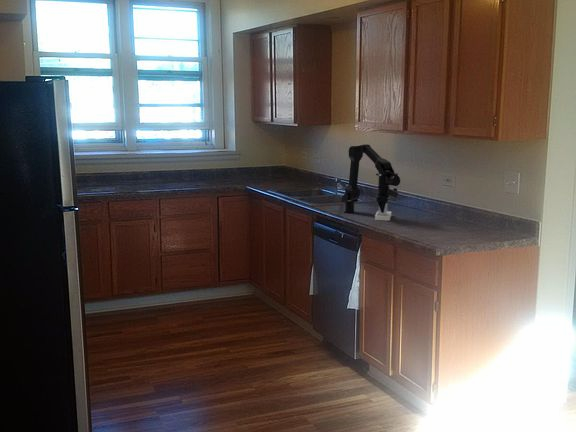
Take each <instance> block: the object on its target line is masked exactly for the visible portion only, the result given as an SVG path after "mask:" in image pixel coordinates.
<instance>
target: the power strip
mask: <svg viewBox="0 0 576 432" xmlns="http://www.w3.org/2000/svg"><path fill="white" fill-rule="evenodd" d="M391 218H392V211H389V210H387V216H379V210H377V211H376V213H375V214H374V221H391Z"/></svg>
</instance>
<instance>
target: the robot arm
mask: <svg viewBox="0 0 576 432" xmlns="http://www.w3.org/2000/svg"><path fill="white" fill-rule="evenodd" d="M364 155H366V157H368V158H369V159H370V161H372V163H374V167H375V168H376V170H377V173H375V176H377V177H378V183H377V184H378V185H377V196H376V200H375V201H376V202H377V204H378V208H379V207H380V210H381V212H382V213H384V208H385V204H388V202H389V200H390V196H391V197H393V198H395V199H398V196H399V194H400V192H399V190H398V188H396V187H398V186H399V185H400V184H401V178H400V176H399V175H398V173H396V172H395V170H394V168H393V165H392V163H391V162H390V161H389V160H387V159H385V158H383V157H382V156H381V155H379V154H378V152H377V151H376V150H374V148H372V147H371V145H370V144H369V143H368V144H367V143H366V144H363V143H362V144H361V145H360V144H359V145H350V147H348V158H349V160H350V164H349V165H350V166H349V175H348V176H349V179H348V185H347V187H346V188H345V189H344V190H345V191H344V194H343V196H342V197H341V199H340V200H341V203H344V210H343V213H344V214H345V213H346V214H354V213H356V210H355V203H358V202H359V198H360V195H361V189H360V188H359V186H358V182H359V181H358V179H359V168H360V161H361V160H362V158H363V156H364ZM391 186H392V187H394V188H391Z"/></svg>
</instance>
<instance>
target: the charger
mask: <svg viewBox="0 0 576 432" xmlns="http://www.w3.org/2000/svg"><path fill="white" fill-rule="evenodd" d="M378 211H379V216H387V211H388V203H386V204H385V208H384V213H382V212H381V210H380V207H379V206H378Z"/></svg>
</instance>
